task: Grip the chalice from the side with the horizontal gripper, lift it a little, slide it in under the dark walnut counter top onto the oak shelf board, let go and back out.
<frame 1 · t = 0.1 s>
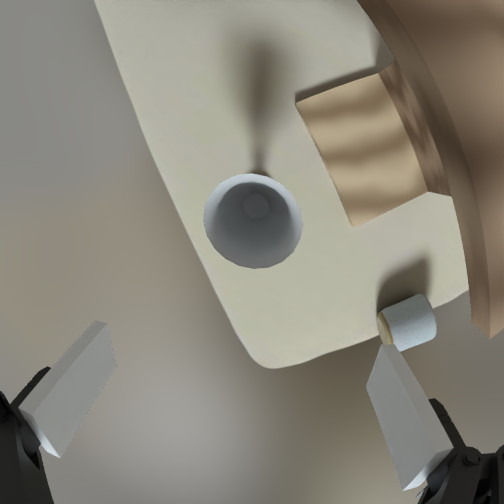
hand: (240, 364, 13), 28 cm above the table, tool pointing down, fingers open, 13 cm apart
walnut counter: (369, 146, 35), on the table
ceramic mug: (398, 318, 43), on the table
chalice: (257, 196, 38), on the table
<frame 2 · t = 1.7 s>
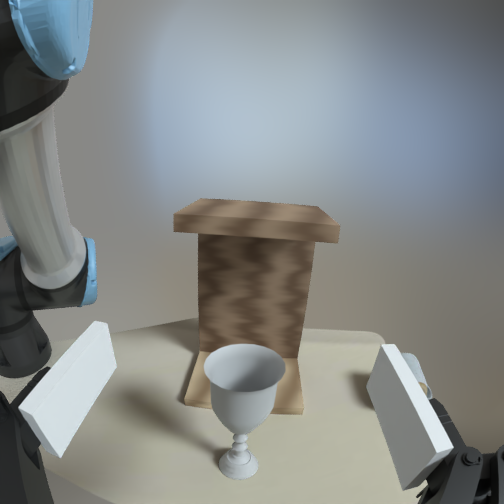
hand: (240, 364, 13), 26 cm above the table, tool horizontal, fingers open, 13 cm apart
walnut counter: (246, 382, 46), on the table
ceramic mug: (402, 398, 41), on the table
chalice: (238, 465, 30), on the table
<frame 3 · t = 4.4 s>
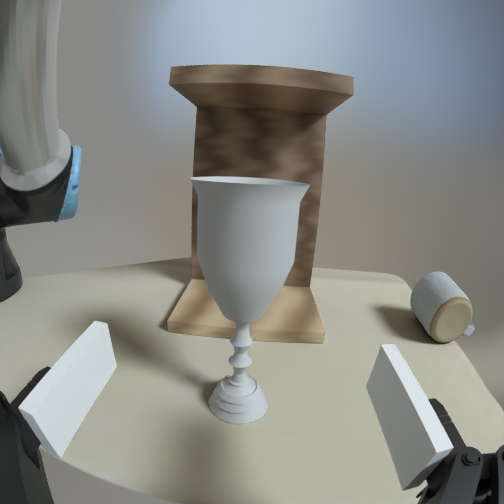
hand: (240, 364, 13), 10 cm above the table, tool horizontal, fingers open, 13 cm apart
walnut counter: (248, 310, 39), on the table
ceramic mug: (440, 331, 34), on the table
chalice: (238, 403, 22), on the table
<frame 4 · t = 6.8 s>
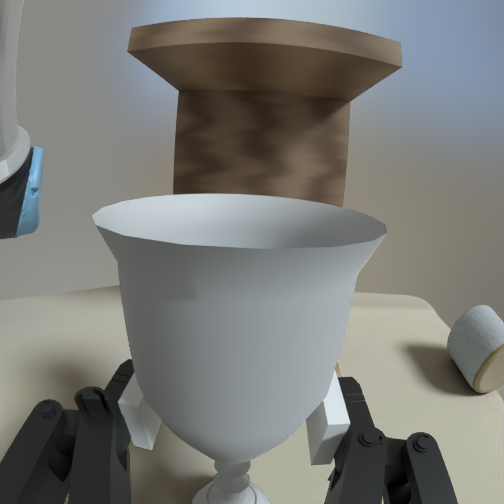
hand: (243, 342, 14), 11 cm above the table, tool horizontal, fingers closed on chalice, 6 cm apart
walnut counter: (246, 359, 29), on the table
ceramic mug: (478, 375, 24), on the table
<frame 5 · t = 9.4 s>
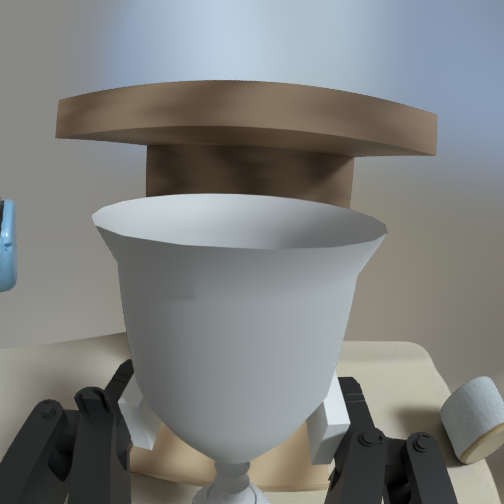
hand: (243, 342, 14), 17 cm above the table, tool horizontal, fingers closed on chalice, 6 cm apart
walnut counter: (232, 434, 25), on the table
ceramic mug: (468, 439, 21), on the table
when the fingers open (13 cm above the table, at t = 12.3 s): chalice stays where it is, resting on walnut counter.
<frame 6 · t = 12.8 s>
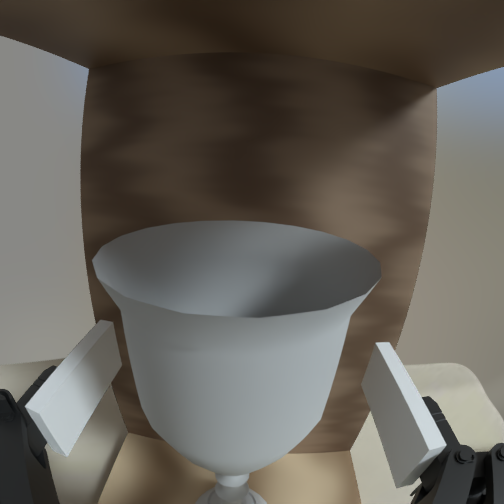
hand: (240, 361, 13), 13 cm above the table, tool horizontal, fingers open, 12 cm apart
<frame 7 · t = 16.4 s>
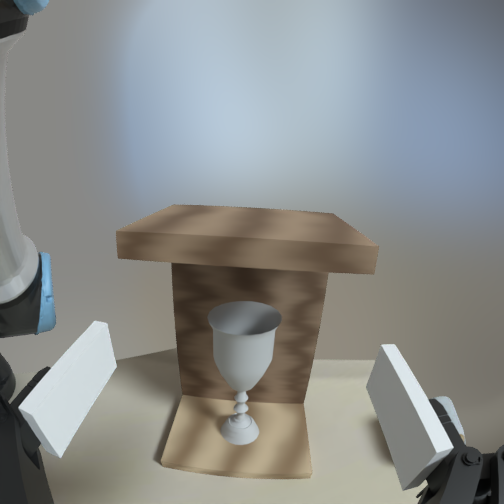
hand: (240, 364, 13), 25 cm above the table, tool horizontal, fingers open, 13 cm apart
walnut counter: (239, 436, 33), on the table
ceramic mug: (431, 446, 28), on the table
chalice: (239, 431, 33), point 1 cm above the table, touching walnut counter
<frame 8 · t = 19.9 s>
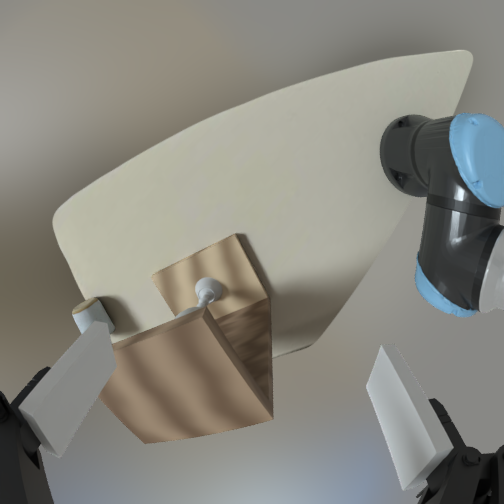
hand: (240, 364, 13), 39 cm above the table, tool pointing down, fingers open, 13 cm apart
walnut counter: (210, 287, 54), on the table
ceramic mug: (97, 314, 58), on the table
chalice: (208, 289, 53), point 1 cm above the table, touching walnut counter
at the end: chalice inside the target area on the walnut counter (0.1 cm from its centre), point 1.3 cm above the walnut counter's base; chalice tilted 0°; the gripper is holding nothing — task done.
